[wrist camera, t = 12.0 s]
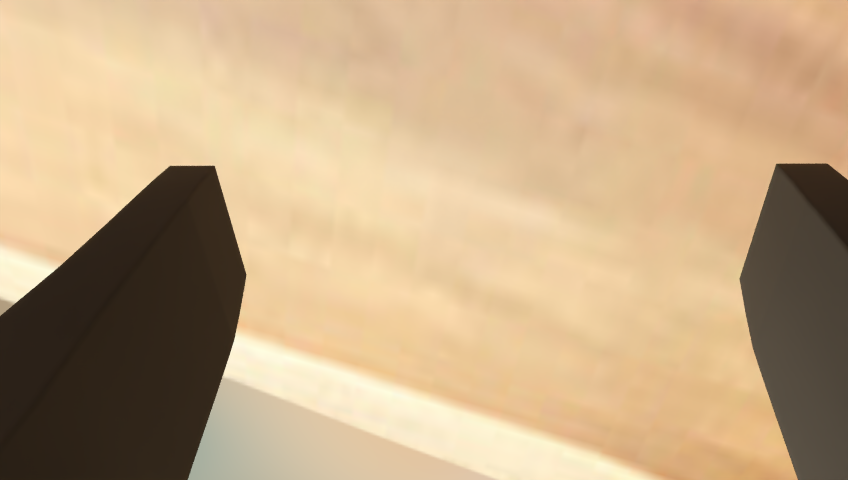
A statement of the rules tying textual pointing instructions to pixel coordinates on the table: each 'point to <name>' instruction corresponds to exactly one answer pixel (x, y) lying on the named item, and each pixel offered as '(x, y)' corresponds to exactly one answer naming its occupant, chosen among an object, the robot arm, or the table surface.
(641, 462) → the table surface
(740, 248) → the table surface
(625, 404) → the table surface
